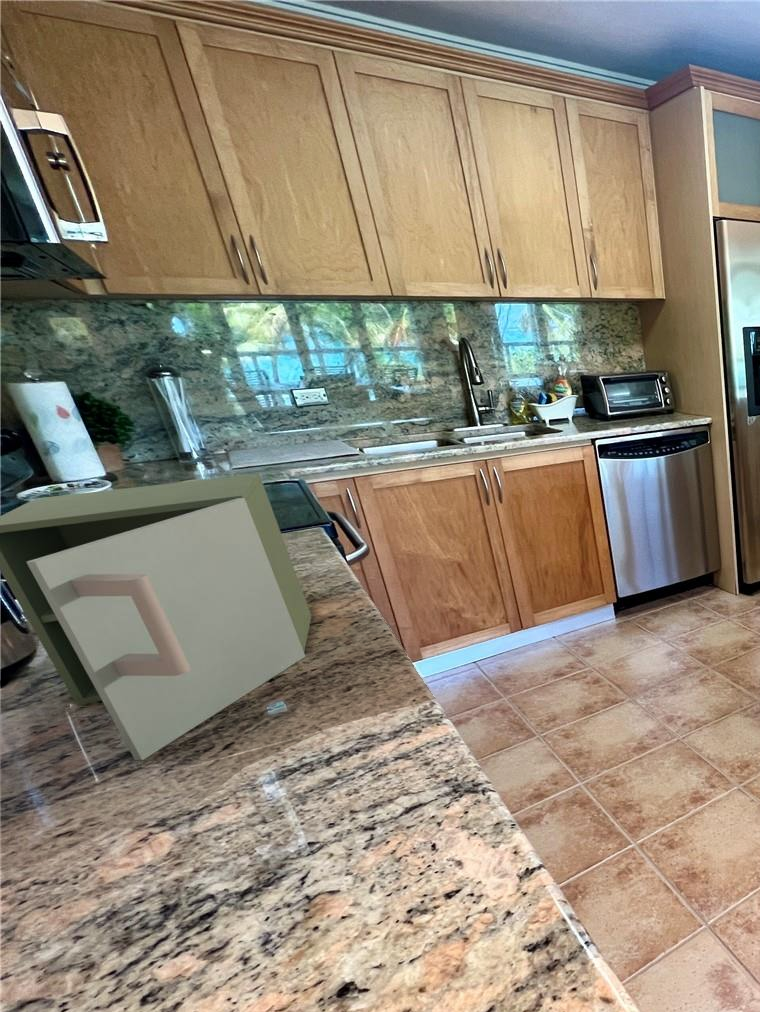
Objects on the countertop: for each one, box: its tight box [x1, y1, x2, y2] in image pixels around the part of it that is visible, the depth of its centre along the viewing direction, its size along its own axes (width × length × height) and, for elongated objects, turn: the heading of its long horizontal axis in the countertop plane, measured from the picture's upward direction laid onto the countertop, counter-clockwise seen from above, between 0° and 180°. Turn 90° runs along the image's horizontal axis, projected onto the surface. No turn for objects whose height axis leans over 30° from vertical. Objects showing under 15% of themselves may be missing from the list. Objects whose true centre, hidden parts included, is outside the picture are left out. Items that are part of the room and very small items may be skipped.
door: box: [27, 498, 306, 762], centre depth 69 cm, size 7×22×21 cm, turn 177°
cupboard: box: [0, 473, 312, 707], centre depth 81 cm, size 15×22×22 cm
